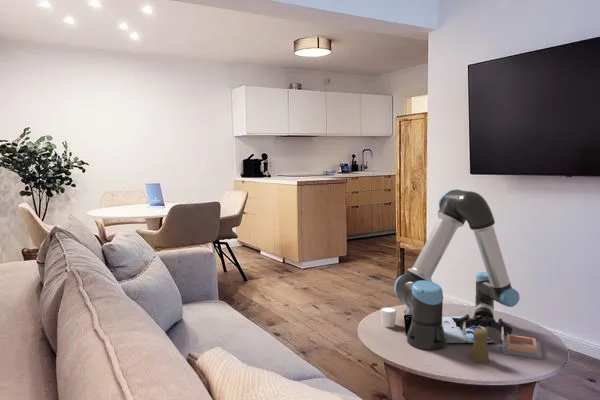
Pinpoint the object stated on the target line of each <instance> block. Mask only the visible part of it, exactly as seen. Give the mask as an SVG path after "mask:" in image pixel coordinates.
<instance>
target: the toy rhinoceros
mask: <svg viewBox="0 0 600 400" xmlns="http://www.w3.org/2000/svg"><path fill="white" fill-rule="evenodd" d="M403 313H404V314H405V315H406V316H407V315H412V309H411V308H410V307H409V306H407V305H406V307H405V308H404V309H403Z"/></svg>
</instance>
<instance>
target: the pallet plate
mask: <svg viewBox="0 0 600 400" xmlns="http://www.w3.org/2000/svg"><path fill="white" fill-rule="evenodd" d="M501 342H502V343H501V345H502V346H501V347H502V354H504V355H511V356H518V357H523V358H530V359H536V360H543V354H542V349H541V345H540V342H539V341H537V339H536V338H535V337H530V336H529V337H528V336H521V335H514V334H509V333H507V336H504V341H503V340H501Z"/></svg>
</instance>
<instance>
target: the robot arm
mask: <svg viewBox="0 0 600 400" xmlns="http://www.w3.org/2000/svg"><path fill="white" fill-rule="evenodd" d="M438 208H439V210H438V212H437V218H438V219H437V221H436V223H435V225H434V227H433V228H432V230H431V232H430V234H429V236H428V237H427V240H426V241H425V244H424V246H422V250H421V251H420V253H419V254H418V256H417V259H416V260H415V262H414V263H413V265H412V267H411V268H410V267H409V268H408V269H406V271H405V273H404V274H402V275H400V276H398V278H397V279H396V280H395V282H394V285H393V287H394V288H393V292H394V294H395V297H396V298H397V299H398V300H399V301H400V302H401V303H403V304H404V305H406V307H407V306H409V307H410V308H411V309H412V317H411V323H410V325H409V328H408V331H407V334H406V342H407V343H408V344H409V345H410V346H412V347H415V348H417V349H421V350H425V351H426V350H428V351H436V350H442V349H443V348H446V346H447V335H446V332H445V329H444V326H443V303H444V302H443V301H444V294H443V288H442V287H441V285H440V284H438V283H436V282H434V281H433V280H432V276H433V274H434V272H435V271H436V270H437V268H438V265H439V263H440V261H441V260H442V258H443V256H444V254H445V252H446V251H447V248H448V247H449V245H450V243H451V241H452V240H453V237H454V235H455V234H456V231H457V230H458V228H461V227H464V225H465V223H466V222H467V224H468V226H469V229H470V230H472V231H473V232H474V237H475V239H476V240H475V241H476V243H477V246H478V248H479V252H480V253H479V254H480V256H481V259H482V262H483V265H484V268H485V270H486V272H485V271H483V272H478V273H477V274H476V275H475V276H476V277H475V278H476V279H475V297H474V298H475V299H474V301H475V303H474V304H475V305H474V314H473V316H470V314H465V316H462V317H460V318H457V319H456V320H455V321H456V322H455V327H458V328H459V330H461V331H462V336H465V334H466V328H469V327H473V326H474V327H478V326H480V327H483V328H491V329H494V330H496V331H498V332H500V334H501V335H500V339H501V341H502V340H503V341H504V337H507V334H508V335H513V334H512V332H513V327H512V326H511V325H510V324H508V323H507V322H505V321H503V318H498V319H495V318H494V315H495V314H494V310H495V307H494V306H495V304H494V303H495V302H497V303H498V304H501V305H503V306H505V307H509V308H512V307H513V308H514V307H515V306H516V305H518V303H519V301H520V297H521V296H520V293H519V292H518V291H517V290H516V289H515V288H513V287H512V284H511V281H510V276H509V274H508V272H507V271H508V270H507V267H506V264H505V261H504V257H503V254H502V251H501V247H500V244H499V240H498V238H497V237H498V236H497V235H496V231H495V227H494V225H495V224H496V222H495V218H494V215H493V212H492V210H491V207H490V206H489V204H488V202H487V200H486V199H485V198H484V197H483V196H482V195H481V194H480V193H478V192H476V191H472V190H471V191H468V190H461V189H450V190H448V191H445V192H444V193H442V195H441V196H440V198H439V201H438Z"/></svg>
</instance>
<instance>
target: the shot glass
mask: <svg viewBox="0 0 600 400" xmlns="http://www.w3.org/2000/svg"><path fill="white" fill-rule="evenodd" d="M380 317H381V318H380V319H381V320H380V321H381V326H382V327H384V328H389V327H390V328H394V327H395V326H396V319H397V309H396V308H394V307H390V306H389V307H387V306H385V307H382V308H380Z"/></svg>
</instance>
